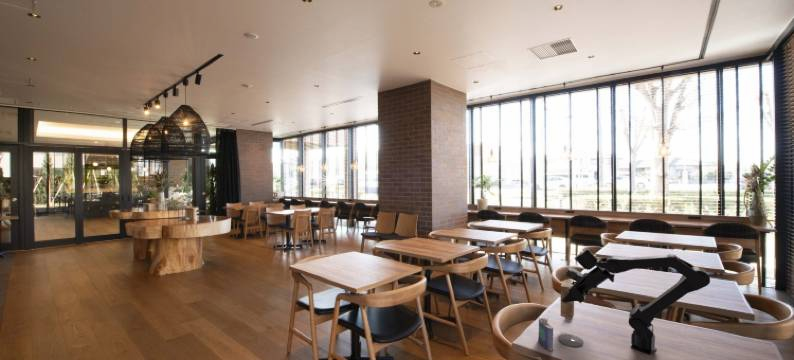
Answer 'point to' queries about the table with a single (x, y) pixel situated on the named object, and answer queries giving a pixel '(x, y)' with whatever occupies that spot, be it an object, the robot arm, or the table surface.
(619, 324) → the table surface
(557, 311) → the table surface
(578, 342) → the slate coaster
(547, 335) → the flask
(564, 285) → the walnut block
